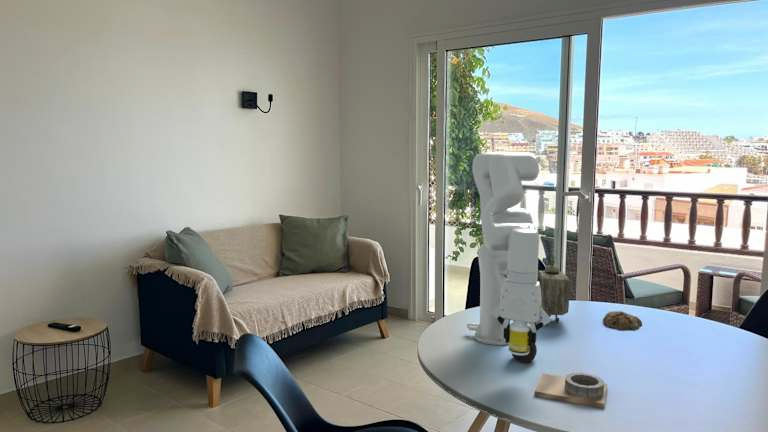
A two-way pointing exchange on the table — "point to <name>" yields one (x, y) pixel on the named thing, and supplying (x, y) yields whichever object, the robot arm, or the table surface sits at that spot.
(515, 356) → the mate gourd
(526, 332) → the supplement bottle
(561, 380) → the collar board
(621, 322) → the bread roll
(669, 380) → the table surface
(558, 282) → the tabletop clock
